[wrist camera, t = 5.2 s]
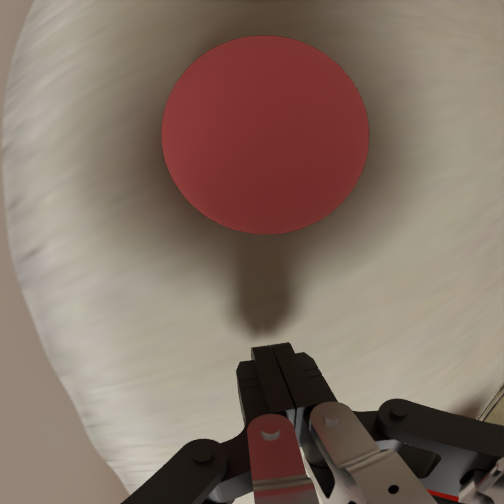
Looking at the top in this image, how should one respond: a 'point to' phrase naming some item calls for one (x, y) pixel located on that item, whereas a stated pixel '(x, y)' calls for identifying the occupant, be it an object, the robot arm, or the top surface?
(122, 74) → the top surface
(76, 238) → the top surface
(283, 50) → the ball
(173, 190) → the top surface
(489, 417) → the coffee can
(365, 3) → the top surface
